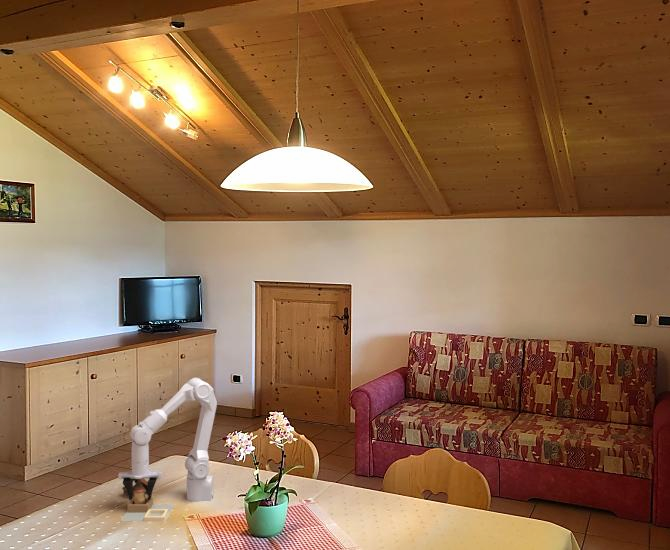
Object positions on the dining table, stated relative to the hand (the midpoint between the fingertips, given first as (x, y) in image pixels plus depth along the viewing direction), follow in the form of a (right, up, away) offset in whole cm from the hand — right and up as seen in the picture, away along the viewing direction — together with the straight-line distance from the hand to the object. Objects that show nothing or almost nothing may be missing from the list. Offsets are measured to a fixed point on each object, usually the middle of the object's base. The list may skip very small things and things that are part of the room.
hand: (140, 498), depth 233 cm
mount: (+4, -5, -3) cm, 7 cm away
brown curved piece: (-5, -4, +15) cm, 16 cm away
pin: (0, -3, 0) cm, 3 cm away
